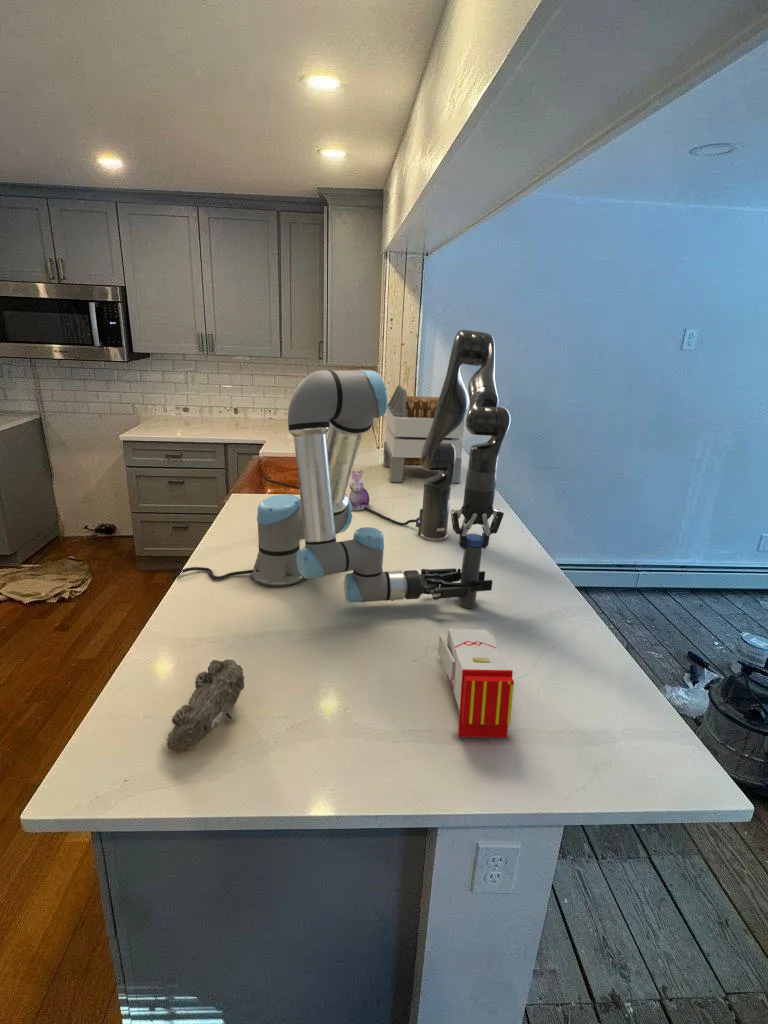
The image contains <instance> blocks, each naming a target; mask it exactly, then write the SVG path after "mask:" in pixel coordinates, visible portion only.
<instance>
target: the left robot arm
mask: <svg viewBox="0 0 768 1024" xmlns="http://www.w3.org/2000/svg"><path fill="white" fill-rule="evenodd" d="M386 387H387V386H386V384H385V382H384V379H383V377H382V376H381V375H380V374H379V373H378V372H377V371H375V370H370V369H362V368H360V369H356V370H355V369H354V370H353V369H352V370H351V369H349V370H327V369H322V370H316V371H313V372H311V373H309V374H308V375H307V376H305V377H304V378H303V379H302V380H301V381H300V382H299V384H298V385H297V387H296V388H295V390H294V392H293V394H292V397H291V399H290V403H289V406H288V411H287V426H288V433H289V434H290V435H291V436H293V442H294V451H295V452H294V453H295V461H296V471H297V479H298V480H297V481H298V487H299V489H298V490H299V496H297V495H296V494H295V495H294V494H292V493H288V494H285V493H281V494H276V495H272V496H268V497H267V498H265V499H263V500H262V501H261V502H260V503H259V504H258V506H257V516H256V522H257V536H258V537H257V538H258V540H257V541H258V552H257V556H256V559H255V562H254V566H253V569H248V570H247V569H246V570H238V571H232V572H228V573H226V574H223V575H214V572H213V570H212V569H211V568H209V567H203V566H202V567H201V566H192V567H186V568H183V569H180V570H178V571H177V572H176V573H175V574H174V575H173V576H172V577H171V579H172V580H173V579H176V578H178V577H179V576H181V575H183V574H185V573H188V572H193V571H200V572H208V574H209V576H210V578H211V579H213V580H217V581H219V580H225V579H228V578H230V577H233V576H239V575H249V574H252V577H253V579H254V580H255V581H256V582H257V583H259V584H260V585H264V586H268V587H287V586H293V585H295V584H298V583H300V582H302V581H303V580H304V579H307V580H308V579H314V578H323V577H328V576H330V575H331V576H332V575H336V574H340V573H345V572H349V573H346V574H345V575H344V580H343V585H344V586H343V587H344V589H343V590H344V596H345V599H346V601H347V602H349V603H370V602H381V601H391V602H394V601H401V600H404V599H405V600H418V599H420V597H421V596H422V595H431V596H432V600H434V601H437V600H441V599H452V598H453V599H455V598H459V597H468V596H469V592H472V591H477V592H487V591H489V592H490V591H492V590H493V580H492V579H485V578H486V571H484V570H482V571H481V570H479V577H478V581H468V583H460V582H459V581H460V580H461V571H462V568H457V569H456V568H435V569H434V568H433V569H432V568H431V569H429V568H428V569H427V568H421V569H420V572H419V571H418V570H417V569H413V570H411V569H410V570H404V571H402V570H391V571H390V570H389V571H383V563H384V550H385V537H384V533H383V532H382V531H381V530H379V529H378V528H376V527H370V526H369V527H368V526H365V527H359V528H357V529H355V531H354V533H353V537H352V539H347V540H342V541H337V536H336V535H338V534H341V533H344V532H346V531H347V530H348V529H349V527H350V526H351V523H352V520H353V510H352V505H351V502H350V500H349V496H348V495H347V493H346V492H347V490H348V486H349V484H350V479H351V477H352V471H353V469H354V465H355V463H356V459H357V455H358V451H359V448H360V445H361V441H362V438H363V435H364V434H365V433H367V432H369V431H370V430H371V428H372V424H373V421H374V419H375V418H376V419H380V418H382V417H383V416H384V415H385V414H386V412H387V405H388V403H389V402H388V392H387V388H386ZM303 540H304V545H305V546H303V547H301V541H303ZM182 571H183V572H182ZM351 571H352V572H351ZM181 572H182V573H181ZM180 573H181V574H180Z"/></svg>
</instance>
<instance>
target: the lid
mask: <svg viewBox="0 0 768 1024" xmlns="http://www.w3.org/2000/svg"><path fill="white" fill-rule="evenodd" d="M466 536H467V540H466V545H468V546H472V547H480V546H483V543H484V537H483V536H482V534H478V533H467V534H466Z"/></svg>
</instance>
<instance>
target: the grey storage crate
mask: <svg viewBox="0 0 768 1024" xmlns="http://www.w3.org/2000/svg"><path fill="white" fill-rule="evenodd" d="M442 388H443V386H442V387H441V389H442ZM407 394H408V393H407V390H406V389H404V388H403V387H402V385H399V384H398V385H397V386H396V388H395V390H394V392H393V394H392V395H391V398H390V400H389V402H388V403H387V410H386V412H385V414H386V415H385V423H386V428H385V438H384V442H383V466H384V467H388V468H389V475H388V476H389V477H388V478H389V480H390V482H391V483H402V482H403V475H404V469H405V466H406V467H407V466H411V467H412V466H413V467H415V466H416V467H417V466H418V467H422V465H421V453H422V449H423V446H424V444H425V441H426V439H427V436H428V434H429V431H430V429H431V426H432V422H433V419H434V415H435V411H436V407H437V403H438V400H439V397H440V396H415V395H414V396H413V395H412V396H411V395H407ZM465 422H466V419H464V420H463V421H462V423H461V424H460V425H459V426H458V427H457V428H456V429H455V430H454V431H453V432H452V433H450V434H449V435H448V436H447V437H446V438H445V439H444V440H443V441H442V442H441V443H450V444H452V445H453V446H454V448H455V466H454V472H453V481H452V484H455V483H456V484H459V483H461V472H462V461H463V460H462V453H463V442H464V441H463V440H462V439H463V438H464V431H465V430H464V429H465Z"/></svg>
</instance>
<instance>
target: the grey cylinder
mask: <svg viewBox="0 0 768 1024" xmlns="http://www.w3.org/2000/svg"><path fill="white" fill-rule="evenodd" d="M482 552H483V548H482V546H480V547H472V546H468V545H466V549H463V555H462V562H461V579H460V582H459V583H468V581H478V577H479V571H480V569H481V561H482ZM477 593H478V591H472V592H469V596H468V597H457V599H458V600H457V604H458V605H459V607H462V608H465V609H470V608H471V609H472V608H475V606H476V601H477Z"/></svg>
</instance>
